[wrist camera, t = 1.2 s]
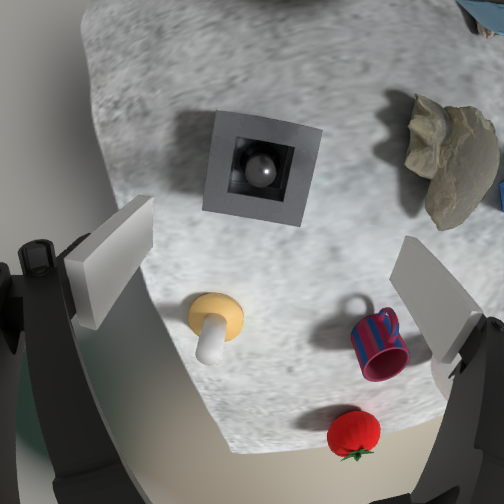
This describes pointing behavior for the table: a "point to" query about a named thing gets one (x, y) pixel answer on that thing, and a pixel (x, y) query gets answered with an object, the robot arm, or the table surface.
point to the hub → (214, 325)
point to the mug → (380, 346)
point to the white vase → (444, 375)
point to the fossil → (452, 158)
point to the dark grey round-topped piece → (260, 163)
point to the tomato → (353, 434)
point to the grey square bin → (245, 194)
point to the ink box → (502, 193)
